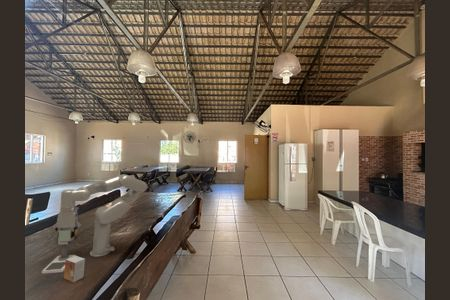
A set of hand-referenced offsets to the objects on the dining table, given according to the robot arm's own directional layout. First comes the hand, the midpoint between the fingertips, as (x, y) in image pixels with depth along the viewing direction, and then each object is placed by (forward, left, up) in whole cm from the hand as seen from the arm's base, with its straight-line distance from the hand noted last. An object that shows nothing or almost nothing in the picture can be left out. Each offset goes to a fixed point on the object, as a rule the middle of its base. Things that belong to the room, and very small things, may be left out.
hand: (66, 237), depth 132 cm
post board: (0, +5, -15) cm, 15 cm away
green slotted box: (0, 0, -1) cm, 1 cm away
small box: (-16, +19, -15) cm, 29 cm away
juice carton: (+17, -30, -15) cm, 38 cm away
